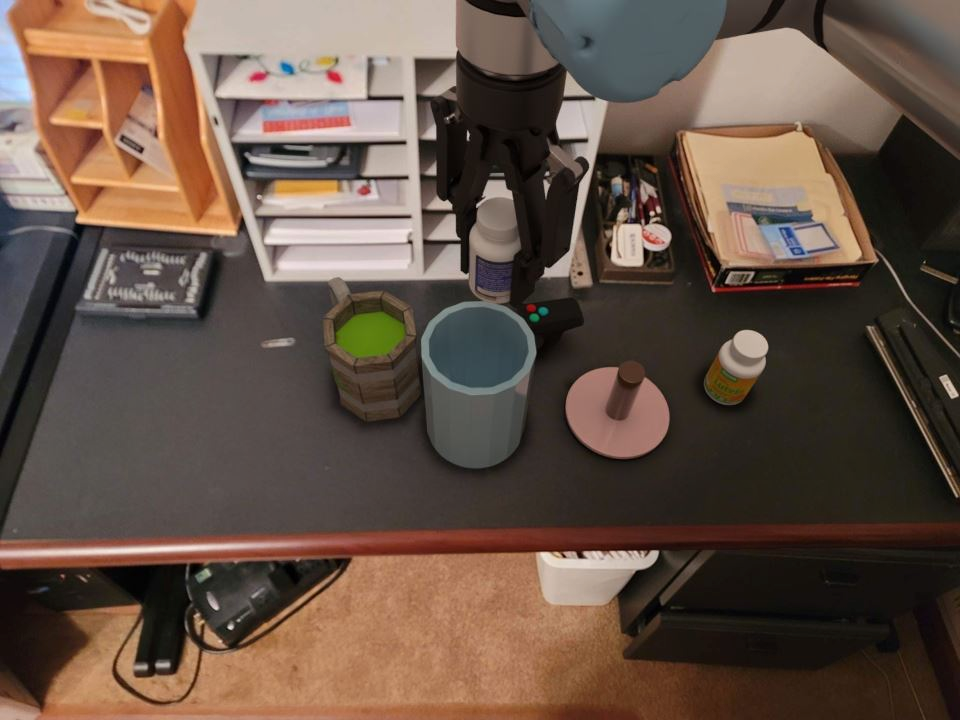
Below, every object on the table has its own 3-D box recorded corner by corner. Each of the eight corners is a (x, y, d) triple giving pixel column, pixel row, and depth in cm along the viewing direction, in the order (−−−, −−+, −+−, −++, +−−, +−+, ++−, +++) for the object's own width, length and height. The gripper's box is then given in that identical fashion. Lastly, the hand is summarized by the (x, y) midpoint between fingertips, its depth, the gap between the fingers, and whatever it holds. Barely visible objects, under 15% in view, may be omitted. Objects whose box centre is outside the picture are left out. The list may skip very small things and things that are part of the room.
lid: (674, 388, 88) (696, 343, 80) (657, 474, 81) (679, 435, 73) (578, 361, 90) (589, 314, 82) (553, 443, 83) (563, 401, 75)
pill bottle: (534, 292, 65) (544, 222, 58) (486, 313, 63) (489, 244, 56) (505, 255, 67) (511, 184, 60) (458, 274, 66) (458, 204, 59)
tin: (542, 421, 85) (558, 342, 71) (480, 487, 80) (484, 416, 66) (471, 368, 89) (473, 283, 75) (407, 428, 84) (397, 349, 70)
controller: (479, 345, 91) (481, 296, 83) (570, 329, 93) (580, 280, 85) (487, 372, 89) (490, 324, 80) (579, 355, 90) (591, 307, 82)
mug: (438, 397, 86) (436, 340, 76) (360, 437, 83) (346, 383, 73) (379, 311, 94) (370, 249, 84) (305, 345, 90) (286, 285, 80)
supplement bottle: (699, 399, 87) (724, 354, 79) (706, 365, 90) (730, 319, 82) (743, 411, 86) (772, 368, 78) (748, 377, 89) (777, 332, 81)
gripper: (660, 82, 44) (600, 309, 64) (449, -22, 51) (451, 213, 70) (591, 137, 41) (549, 360, 60) (374, 19, 48) (398, 253, 67)
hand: (497, 280), depth 65 cm, fingers closed on pill bottle, 5 cm apart
